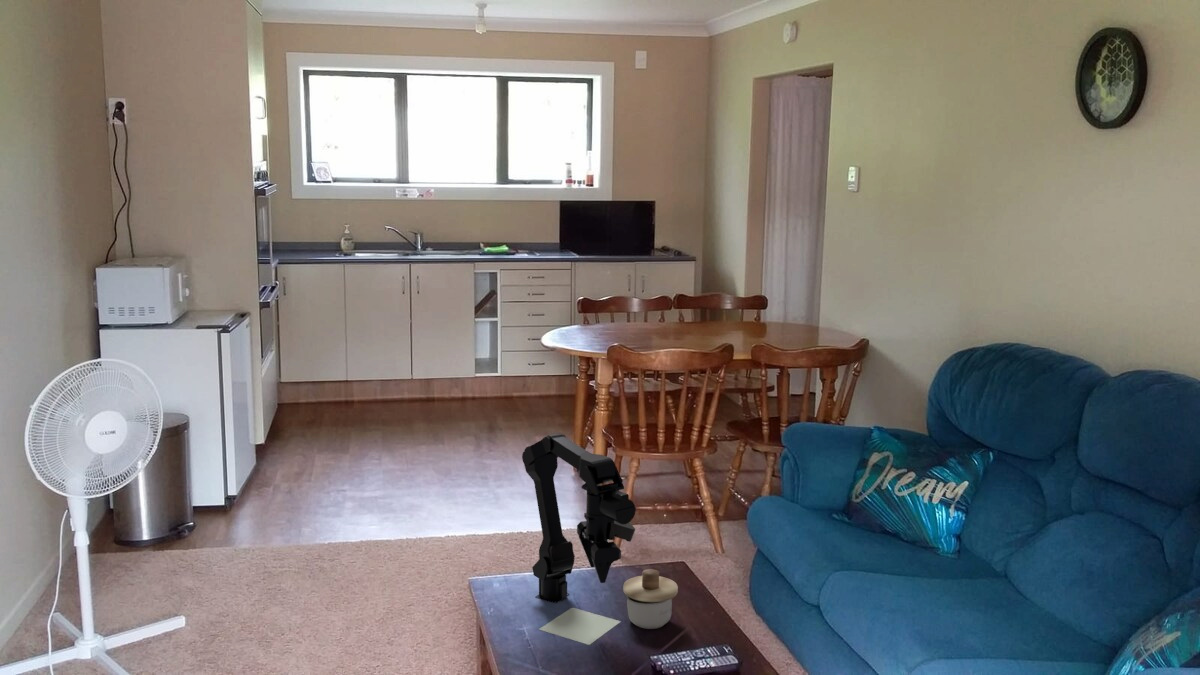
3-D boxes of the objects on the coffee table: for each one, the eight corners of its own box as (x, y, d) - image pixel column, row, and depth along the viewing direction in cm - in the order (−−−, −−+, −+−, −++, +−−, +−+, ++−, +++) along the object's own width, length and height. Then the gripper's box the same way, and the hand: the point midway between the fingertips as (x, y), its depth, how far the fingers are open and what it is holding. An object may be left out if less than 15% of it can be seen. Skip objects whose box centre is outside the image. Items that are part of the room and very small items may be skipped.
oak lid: (613, 593, 232) (613, 575, 231) (640, 575, 242) (640, 557, 242) (661, 606, 225) (661, 588, 224) (687, 586, 236) (687, 569, 235)
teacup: (668, 636, 227) (668, 604, 226) (622, 632, 229) (622, 600, 228) (675, 611, 241) (676, 580, 239) (632, 606, 243) (632, 576, 242)
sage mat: (538, 631, 229) (538, 629, 229) (572, 609, 241) (572, 607, 241) (589, 647, 222) (589, 644, 222) (620, 623, 234) (620, 621, 233)
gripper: (643, 522, 221) (642, 587, 223) (621, 495, 239) (620, 556, 241) (595, 526, 218) (594, 592, 221) (576, 499, 236) (576, 560, 238)
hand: (597, 574), depth 230 cm, fingers open, 9 cm apart
